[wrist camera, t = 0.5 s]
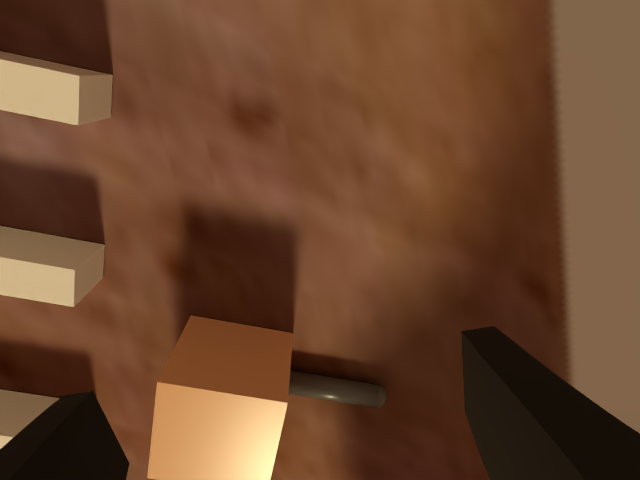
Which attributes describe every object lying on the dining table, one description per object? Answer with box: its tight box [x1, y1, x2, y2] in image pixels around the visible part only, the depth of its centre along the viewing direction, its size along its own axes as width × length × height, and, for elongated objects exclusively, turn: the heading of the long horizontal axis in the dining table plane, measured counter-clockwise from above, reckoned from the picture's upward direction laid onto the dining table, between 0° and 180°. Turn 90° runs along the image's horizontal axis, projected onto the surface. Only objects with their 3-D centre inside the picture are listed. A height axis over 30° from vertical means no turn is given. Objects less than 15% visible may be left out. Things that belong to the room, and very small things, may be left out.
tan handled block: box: [147, 315, 387, 480], centre depth 19 cm, size 4×9×4 cm, turn 78°
